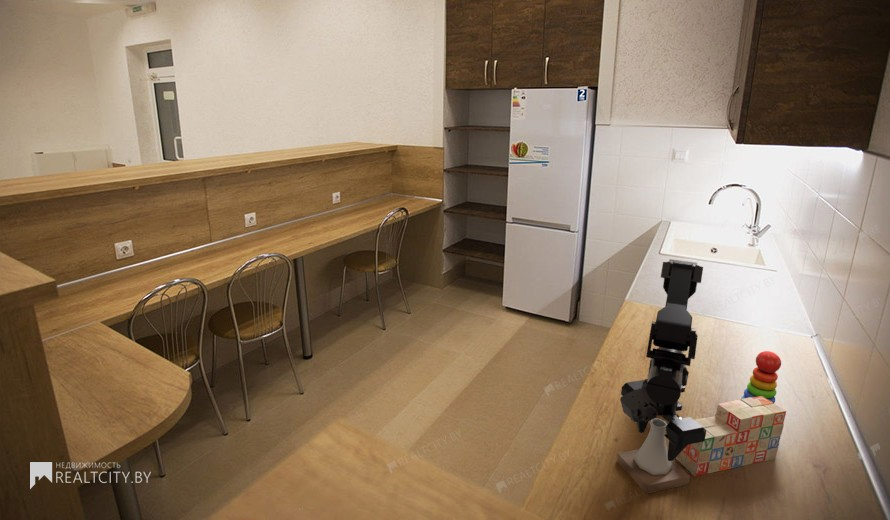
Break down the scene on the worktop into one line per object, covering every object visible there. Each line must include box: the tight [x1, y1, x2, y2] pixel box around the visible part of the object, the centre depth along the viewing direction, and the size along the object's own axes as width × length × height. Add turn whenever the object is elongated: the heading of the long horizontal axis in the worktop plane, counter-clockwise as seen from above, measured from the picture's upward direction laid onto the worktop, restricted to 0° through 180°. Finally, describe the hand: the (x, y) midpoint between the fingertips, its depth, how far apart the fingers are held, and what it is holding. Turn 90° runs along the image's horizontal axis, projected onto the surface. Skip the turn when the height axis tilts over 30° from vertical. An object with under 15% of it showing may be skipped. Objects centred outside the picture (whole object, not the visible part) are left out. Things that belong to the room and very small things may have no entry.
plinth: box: [616, 448, 691, 494], centre depth 106 cm, size 10×10×2 cm
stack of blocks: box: [675, 396, 787, 477], centre depth 109 cm, size 21×6×12 cm, turn 106°
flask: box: [633, 417, 673, 475], centre depth 104 cm, size 7×7×10 cm
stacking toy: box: [740, 350, 782, 404], centre depth 121 cm, size 8×8×19 cm
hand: (655, 445), depth 104 cm, fingers open, 9 cm apart
